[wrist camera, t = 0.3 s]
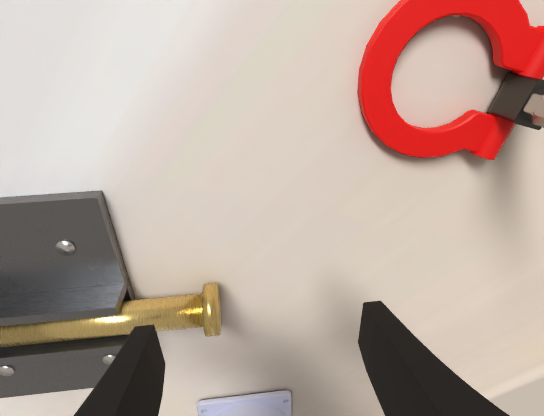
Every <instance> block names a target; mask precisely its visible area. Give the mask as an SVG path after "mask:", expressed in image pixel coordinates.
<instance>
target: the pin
mask: <svg viewBox="0 0 544 416" xmlns="http://www.w3.org/2000/svg"><path fill="white" fill-rule="evenodd" d="M153 324H154V326H155V329H156V332H157V331H167V330H177V329H187V328H196V327H204V332H205V336H206V337H209V336H219V335H220V333H221V306H220V294H219V287H218V283H209V284H204V285H203V291H202V294H195V295H184V296H173V297H163V298H152V299H141V300H131V301H122V304H121V307H120V310H119V313H118V315H112V316H102V317H92V318H81V319H71V320H61V321H50V322H40V323H30V324H19V325H9V326H0V347H9V346H19V345H29V344H39V343H49V342H59V341H69V340H78V339H88V338H98V337H108V336H118V335H128V334H130V333H131V331H132V330H133V328H134V327H135V326H144V325H153Z"/></svg>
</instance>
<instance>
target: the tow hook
mask: <svg viewBox="0 0 544 416" xmlns="http://www.w3.org/2000/svg"><path fill="white" fill-rule="evenodd" d="M449 15H461V16H465V17H468V18H471V19H473V20H474V21H476V22H477V23H478V24H480V25H481V26H482V27H483V29H484V30H485V32H486V33H487V34H488V36H489V38H490V42H491V45H492V49H493V62H494V64H495V65H496V66H498V67H501V68H505V69H508V70H511V71H512V73H509V74H508V75H507V77H506V79H505V81H504V82H503V84H502V86H501V88H500V90H499V92H498V93H497V95H496V97H495V99H494V101H493V102H492V104H491V106H490V108H489V110H488V112H489V114H486V113H483V112H479V111H476V110H470V111H467V112H466V113H465V114H464V115H463V116H461V117H459V118H458V119H456V120H454V121H452V122H451V123H449V124H446V125H442V126H439V127H434V128H420V127H416V126H412V125H410V124H408V123H406V122H405V121H404V120H403V119H402V118H401V117H400V116H399V115H398V113H397V111H396V109H395V106H394V104H393V102H392V95H391V80H392V73H393V70H394V67H395V64H396V61H397V58H398V56H399V55H400V53H401V52H402V50H403V48H404V47H405V45H406V44H407V42H408V41H409V40H410V39H411V38H412V37H413V36H414V35H415V34H416V33H417V32H418V31H419V30H420V29H422V28H423V27H425V26H426V25H428V24H430V23H431V22H433V21H434V20H437V19H440V18H443V17H446V16H449ZM543 77H544V26H537V28H535V27H533V26H530V24H529V20H528V16H527V13H526V11H525V10H524V8H523V7H522V5H521V3H520V2H519V0H401V1H399V2H398V3H397V4H396V5H395V6H394V7H393V8H392V9H391V11H390V12H389V13H388V14H387V15H386V16H385V17H384V18H383V19H382V20H381V22H380V23H379V25H378V26H377V28H376V30H375V32H374V33H373V35H372V37H371V39H370V40H369V42H368V44H367V46H366V49H365V52H364V55H363V58H362V62H361V65H360V68H359V77H358V97H359V102H360V108H361V113H362V115H363V116H364V118H365V120H366V122H367V124H368V126H369V128H370V130H371V131H372V132H373V133H374V134H375V135H376V136H377V137H378V138H379V139H380V140H381V141H382V142H383V143H384V144H385V145H386V146H388V147H390V148H392V149H394V150H395V151H397V152H399V153H401V154H404V155H409V156H414V157H419V158H426V157H440V156H444V155H447V154H450V153H453V152H456V151H460V150H462V149H465V150H469V151H470V152H471V153H473V154H474V155H477V156H479V157H482V158H484V159H488V160H494V159H495V157H496V156H497V154H498V152H499V151H500V149H501V147H502V146H503V144H504V142H505V141H506V139H507V137H508V136H509V134H510V132H511V131H512V129H513V127H514V126H515V124H519V125H523V126H526V127H530V128H533V129H537V130H540V129H541V128H542V127H543V128H544V80H542V79H543Z"/></svg>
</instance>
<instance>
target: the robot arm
mask: <svg viewBox="0 0 544 416" xmlns="http://www.w3.org/2000/svg"><path fill="white" fill-rule="evenodd" d="M358 344H359V347H360V351H361V354H362V358H363V361H364V364H365V368H366V371H367V373H368V376H369V378H370V381H371V383H372V385H373V388H374V390H375V393H376V395H377V397H378V400H379V402H380V405H381V407H382V409H383V412H384V414H385V416H509V415H508V414H506V413H505V412H503V411H502V410H501V409H499V408H498V407H496V406H495V405H494V404H493V403H491V402H490V401H489V400H487V399H486V398H485V397H483V396H482V395H481V394H479V393H478V392H477V391H476V390H474V389H473V388H472V387H471V386H469V385H468V384H467V383H466V382H465V381H463V380H462V379H461V378H460V377H459V376H457V375H456V374H455V373H454V372H453V371H452V370H451V369H449V368H448V367H447V366H446V365H445V364H444V363H443V362H441V361H440V360H439V359H438V358H437V357H436V356H435V355H434V354H433V353H432V352H431V351H430V350H429V349H428V348H427V347H426V346H424V345H423V344H422V343H421V342H420V341H419V340H418V339H417V338H416V337H415V336H414V335H413V334H412V333H411V332H410V331H409V330H408V329H407V328H406V327H405V326H404V325H403V324H402V323H401V322H400V320H399V319H398V318H397V317H396V316H395V315H394V314H393V313H392V312H391V311H390V310H389V309H388V308H387V307H386V306H385V305H384V304H383V303H382V302H381V301H374V302H364V303H363V310H362V317H361V324H360V332H359V339H358ZM164 373H165V361H164V357H163V354H162V350H161V347H160V343H159V340H158V336H157V333H156V329H155V326H154V324H153V325H144V326H135V327H134V328H133V330H132V331H131V333H130V335H129V336H128V338H127V339H126V341H125V343H124V344H123V346H122V347H121V349H120V351H119V352H118V354H117V355H116V357H115V358H114V360H113V361H112V363H111V364H110V366H109V367H108V369H107V370H106V372H105V373H104V375H103V376H102V378H101V379H100V380H99V382H98V383H97V385H96V386H95V388H94V389H93V390H92V392H91V393H90V395H89V396H88V397H87V399H86V400H85V401H84V403H83V404H82V405H81V407H80V408H79V409H78V411H77V412H76V413H75V415H74V416H158V413H159V408H160V404H161V399H162V392H163V383H164ZM197 411H198V415H199V416H291V392H290V391H288V390H283V391H275V392H267V393H258V394H250V395H241V396H233V397H224V398H216V399H207V400H201V401H199V402H198V403H197Z"/></svg>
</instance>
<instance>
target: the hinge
mask: <svg viewBox="0 0 544 416" xmlns="http://www.w3.org/2000/svg"><path fill="white" fill-rule="evenodd" d="M131 300H135V298H134V294H133V291H132V288H131V285H130V281H129V278H128V275H127V272H126V268H125V265H124V262H123V259H122V255H121V252H120V249H119V246H118V242H117V239H116V236H115V232H114V229H113V226H112V223H111V219H110V216H109V213H108V210H107V206H106V203H105V200H104V197H103V193H102V191H90V192H75V193H61V194H46V195H32V196H17V197H3V198H0V326H9V325H19V324H30V323H40V322H50V321H61V320H71V319H81V318H92V317H102V316H112V315H118V313H119V310H120V307H121V304H122V301H131ZM129 335H130V334H128V335H118V336H108V337H98V338H88V339H78V340H69V341H59V342H49V343H39V344H29V345H19V346H9V347H0V398H5V397H14V396H23V395H32V394H41V393H50V392H59V391H67V390H76V389H85V388H94V387H95V386H96V385H97V383H98V382H99V380H100V379H101V378H102V376H103V375H104V373H105V372H106V370H107V369H108V367H109V366H110V364H111V363H112V361H113V360H114V358H115V357H116V355H117V354H118V352H119V351H120V349H121V347H122V346H123V344H124V343H125V341H126V339H127V338H128V336H129Z"/></svg>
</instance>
